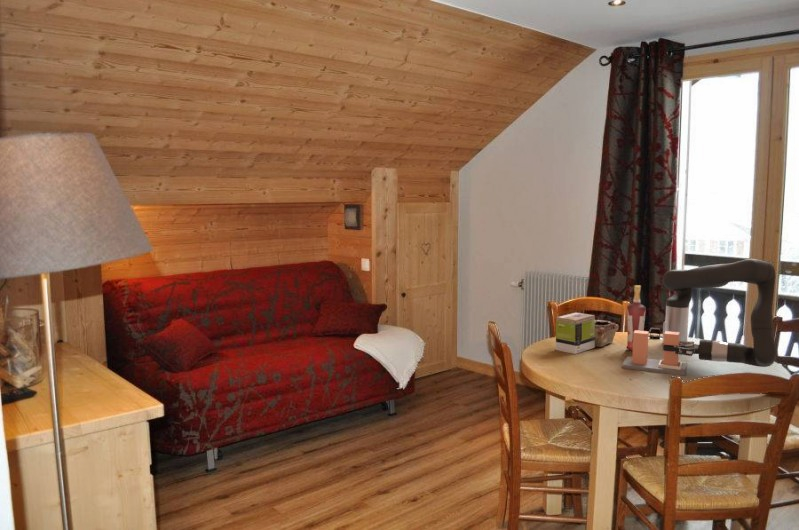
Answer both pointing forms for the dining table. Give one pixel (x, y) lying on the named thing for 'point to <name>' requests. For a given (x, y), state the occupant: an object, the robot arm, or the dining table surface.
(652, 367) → the charcoal board
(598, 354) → the dining table surface
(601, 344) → the grey textured container
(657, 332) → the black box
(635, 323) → the liquor
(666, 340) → the terracotta block
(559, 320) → the tea box
